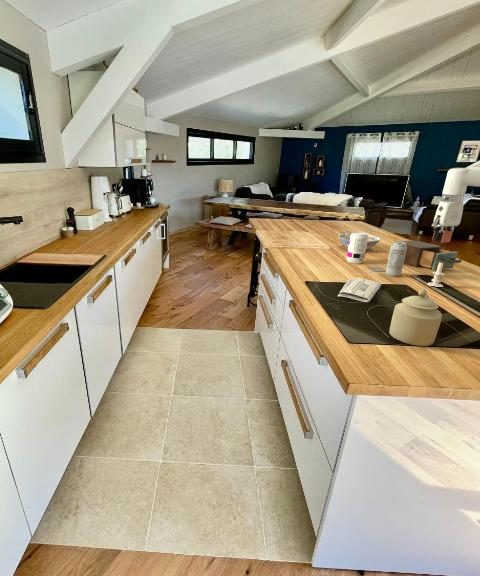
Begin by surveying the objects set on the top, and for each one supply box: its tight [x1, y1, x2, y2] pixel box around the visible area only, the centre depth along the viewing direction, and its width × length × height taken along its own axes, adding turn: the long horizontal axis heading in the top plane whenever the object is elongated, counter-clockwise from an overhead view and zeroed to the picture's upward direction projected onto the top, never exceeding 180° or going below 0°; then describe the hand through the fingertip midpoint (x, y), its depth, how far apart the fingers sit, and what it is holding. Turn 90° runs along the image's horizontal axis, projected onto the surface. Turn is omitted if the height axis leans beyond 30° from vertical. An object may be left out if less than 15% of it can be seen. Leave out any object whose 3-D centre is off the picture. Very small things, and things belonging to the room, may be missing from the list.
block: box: [431, 229, 454, 244], centre depth 139 cm, size 5×5×5 cm
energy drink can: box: [385, 241, 407, 278], centre depth 140 cm, size 6×6×15 cm
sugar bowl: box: [388, 288, 443, 347], centre depth 90 cm, size 15×11×15 cm
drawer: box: [418, 248, 463, 271], centre depth 149 cm, size 18×11×8 cm, turn 14°
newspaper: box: [337, 277, 382, 303], centre depth 125 cm, size 23×12×2 cm, turn 141°
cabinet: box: [399, 239, 442, 268], centre depth 160 cm, size 15×13×10 cm
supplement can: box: [345, 231, 369, 265], centre depth 160 cm, size 8×8×15 cm
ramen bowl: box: [337, 230, 381, 250], centre depth 187 cm, size 25×23×8 cm
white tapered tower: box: [427, 262, 445, 288], centre depth 127 cm, size 5×5×10 cm
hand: (441, 240), depth 140 cm, fingers closed on block, 4 cm apart
